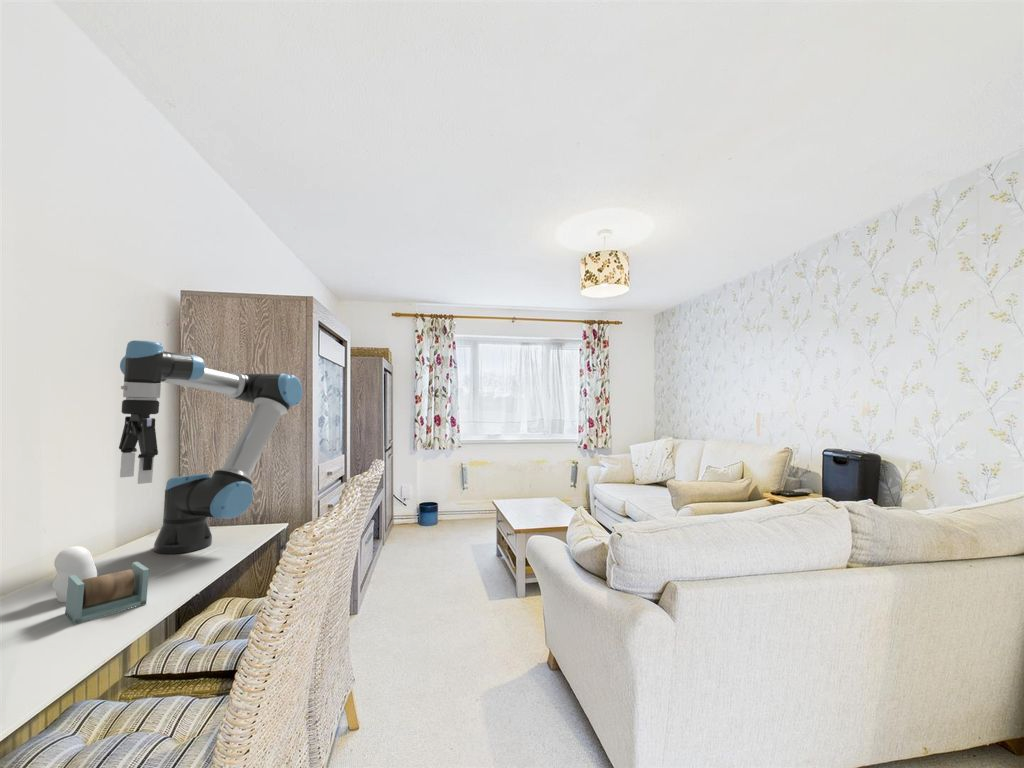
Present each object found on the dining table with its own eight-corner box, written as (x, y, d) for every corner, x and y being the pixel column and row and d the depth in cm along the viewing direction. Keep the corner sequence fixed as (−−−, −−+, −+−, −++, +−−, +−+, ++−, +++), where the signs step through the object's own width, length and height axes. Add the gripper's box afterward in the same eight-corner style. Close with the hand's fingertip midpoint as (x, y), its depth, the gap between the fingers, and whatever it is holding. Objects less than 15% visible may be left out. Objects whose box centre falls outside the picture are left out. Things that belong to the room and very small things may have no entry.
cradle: (134, 595, 106) (137, 561, 106) (146, 604, 101) (149, 569, 102) (65, 613, 96) (68, 575, 96) (74, 624, 91) (77, 585, 92)
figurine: (53, 596, 104) (58, 545, 104) (97, 588, 108) (101, 539, 109) (48, 607, 98) (53, 553, 99) (94, 598, 103) (99, 547, 104)
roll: (124, 592, 103) (126, 566, 104) (133, 599, 100) (135, 572, 100) (78, 604, 97) (80, 576, 97) (85, 611, 93) (87, 583, 94)
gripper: (107, 397, 119) (101, 475, 118) (140, 399, 105) (133, 488, 104) (142, 398, 125) (137, 472, 124) (177, 400, 111) (171, 483, 110)
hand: (135, 480), depth 114 cm, fingers open, 13 cm apart
